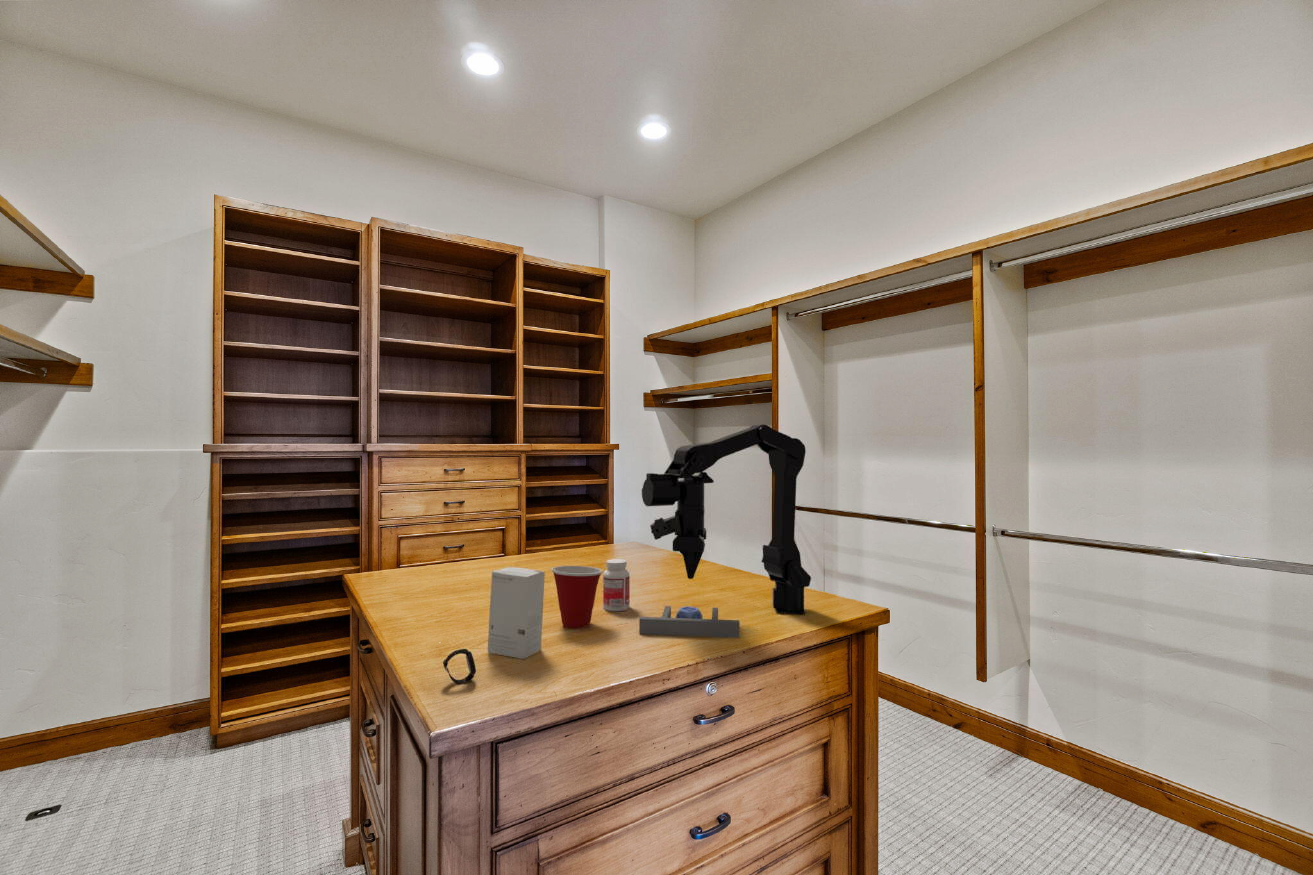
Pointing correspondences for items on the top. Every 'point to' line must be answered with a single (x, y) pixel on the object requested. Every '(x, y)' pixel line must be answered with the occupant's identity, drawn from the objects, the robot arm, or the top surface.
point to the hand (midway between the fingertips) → (690, 578)
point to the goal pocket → (689, 626)
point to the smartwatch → (469, 661)
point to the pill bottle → (616, 586)
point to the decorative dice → (689, 613)
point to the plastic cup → (576, 593)
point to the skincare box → (516, 612)
